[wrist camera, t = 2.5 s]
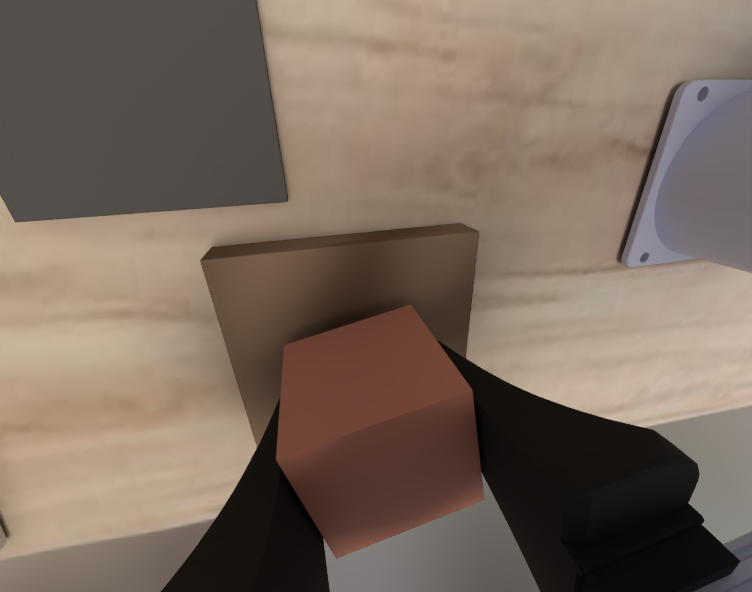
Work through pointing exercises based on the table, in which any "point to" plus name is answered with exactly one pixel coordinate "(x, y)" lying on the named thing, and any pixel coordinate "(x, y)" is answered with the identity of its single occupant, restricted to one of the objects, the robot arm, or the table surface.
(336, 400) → the terracotta cube
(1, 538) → the medicine bottle
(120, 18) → the mat
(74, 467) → the table surface
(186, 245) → the table surface
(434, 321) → the post block
